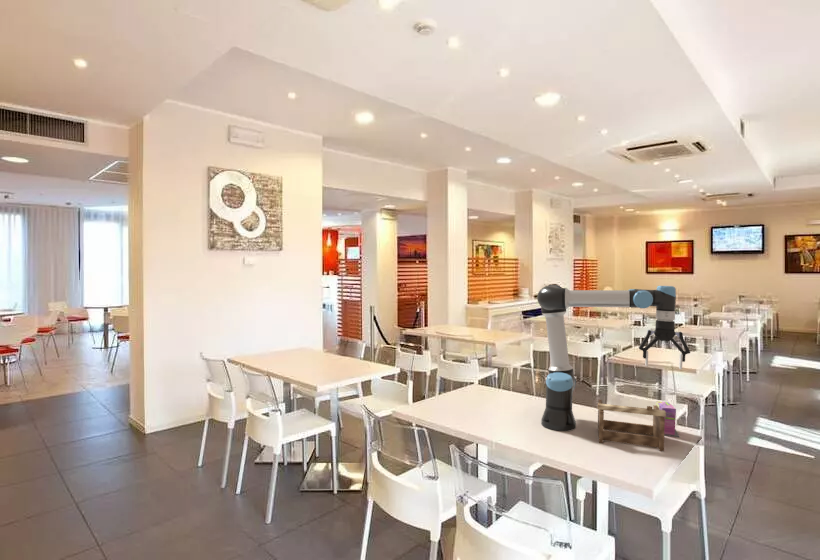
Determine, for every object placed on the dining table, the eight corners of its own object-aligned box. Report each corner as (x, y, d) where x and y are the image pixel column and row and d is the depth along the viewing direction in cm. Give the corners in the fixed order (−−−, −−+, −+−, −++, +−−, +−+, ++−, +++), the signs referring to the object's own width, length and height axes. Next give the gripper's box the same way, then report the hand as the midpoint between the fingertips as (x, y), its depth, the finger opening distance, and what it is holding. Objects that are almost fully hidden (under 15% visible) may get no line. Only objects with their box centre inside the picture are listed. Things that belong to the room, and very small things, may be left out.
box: (675, 435, 205) (676, 408, 205) (661, 434, 206) (661, 407, 206) (668, 427, 215) (669, 402, 215) (654, 426, 216) (655, 401, 216)
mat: (653, 434, 207) (653, 433, 207) (650, 426, 218) (650, 425, 218) (679, 437, 204) (679, 436, 204) (674, 429, 214) (674, 428, 214)
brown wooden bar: (597, 409, 198) (597, 402, 198) (597, 407, 201) (597, 400, 201) (665, 416, 189) (665, 409, 189) (664, 414, 192) (664, 407, 192)
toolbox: (599, 442, 196) (599, 411, 195) (597, 427, 215) (598, 399, 214) (663, 451, 187) (664, 419, 187) (656, 435, 206) (657, 405, 206)
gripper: (635, 319, 211) (633, 366, 212) (699, 322, 202) (697, 371, 203) (633, 317, 218) (631, 363, 219) (695, 321, 209) (693, 368, 210)
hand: (663, 367), depth 211 cm, fingers open, 13 cm apart
